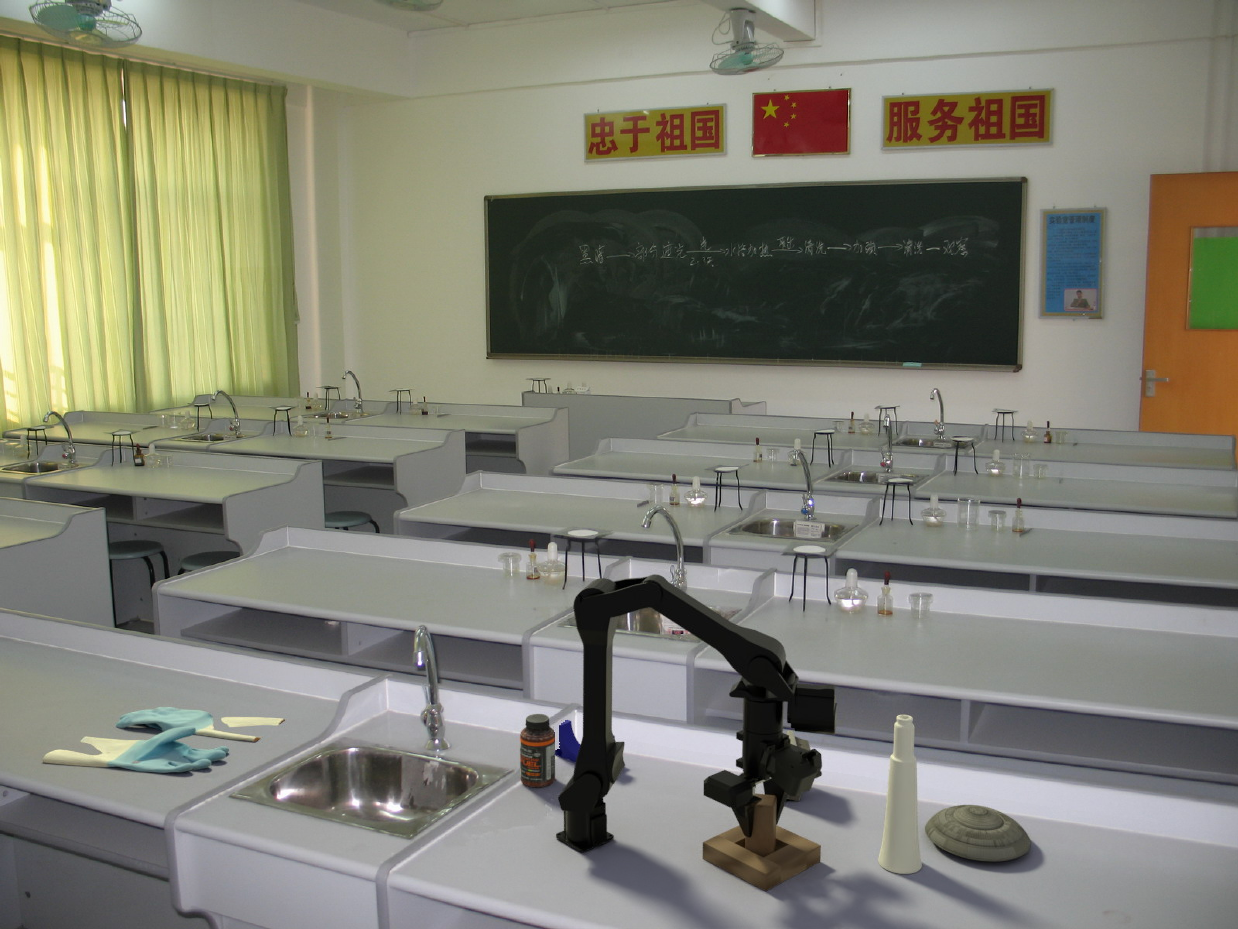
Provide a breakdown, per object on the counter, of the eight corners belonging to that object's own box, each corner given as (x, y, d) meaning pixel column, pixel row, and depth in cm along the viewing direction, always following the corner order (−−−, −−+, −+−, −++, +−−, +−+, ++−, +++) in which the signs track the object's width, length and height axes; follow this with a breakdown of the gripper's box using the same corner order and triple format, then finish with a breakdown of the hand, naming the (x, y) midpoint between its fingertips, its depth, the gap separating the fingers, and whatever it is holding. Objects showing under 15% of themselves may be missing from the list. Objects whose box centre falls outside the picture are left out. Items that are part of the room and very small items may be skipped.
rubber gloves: (140, 710, 216) (138, 680, 215) (286, 722, 210) (285, 691, 209) (41, 766, 190) (38, 731, 189) (206, 781, 183) (203, 745, 182)
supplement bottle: (514, 786, 179) (513, 721, 178) (529, 772, 185) (528, 709, 183) (546, 791, 177) (545, 726, 175) (561, 776, 183) (560, 713, 181)
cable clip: (620, 765, 187) (620, 733, 187) (603, 774, 184) (603, 741, 183) (571, 748, 195) (571, 716, 194) (554, 755, 192) (553, 723, 191)
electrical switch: (771, 779, 181) (777, 727, 180) (802, 782, 181) (808, 731, 180) (775, 804, 172) (782, 749, 171) (807, 808, 172) (814, 753, 170)
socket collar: (702, 858, 155) (702, 842, 154) (757, 832, 162) (757, 816, 162) (765, 891, 146) (765, 874, 145) (820, 861, 153) (820, 845, 153)
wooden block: (772, 860, 151) (773, 807, 150) (744, 856, 152) (745, 803, 151) (775, 846, 155) (777, 794, 154) (748, 843, 156) (749, 791, 155)
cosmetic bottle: (896, 878, 149) (901, 728, 146) (869, 858, 154) (873, 713, 151) (930, 869, 151) (936, 721, 148) (903, 850, 157) (908, 707, 154)
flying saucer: (913, 820, 167) (914, 787, 166) (1009, 821, 166) (1011, 787, 166) (940, 870, 152) (942, 833, 151) (1046, 870, 151) (1048, 833, 151)
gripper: (762, 762, 139) (760, 874, 141) (849, 726, 151) (845, 830, 154) (701, 737, 147) (700, 843, 150) (788, 705, 160) (785, 804, 162)
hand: (760, 830), depth 153 cm, fingers closed on wooden block, 5 cm apart
